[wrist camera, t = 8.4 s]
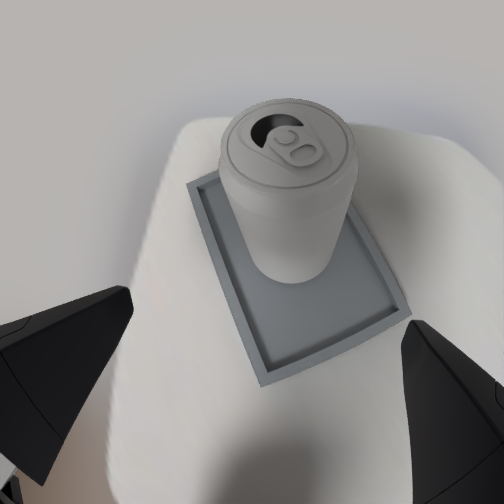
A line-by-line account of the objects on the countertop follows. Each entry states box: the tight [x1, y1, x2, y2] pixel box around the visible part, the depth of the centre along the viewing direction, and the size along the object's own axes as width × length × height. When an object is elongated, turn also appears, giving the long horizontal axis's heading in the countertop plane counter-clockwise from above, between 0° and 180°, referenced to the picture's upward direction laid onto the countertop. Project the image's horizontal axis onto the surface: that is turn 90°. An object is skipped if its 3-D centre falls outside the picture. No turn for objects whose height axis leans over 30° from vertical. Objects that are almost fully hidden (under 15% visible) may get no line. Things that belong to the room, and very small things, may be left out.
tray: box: [186, 170, 412, 387], centre depth 22 cm, size 18×12×2 cm, turn 21°
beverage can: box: [219, 98, 359, 284], centre depth 17 cm, size 6×6×12 cm
